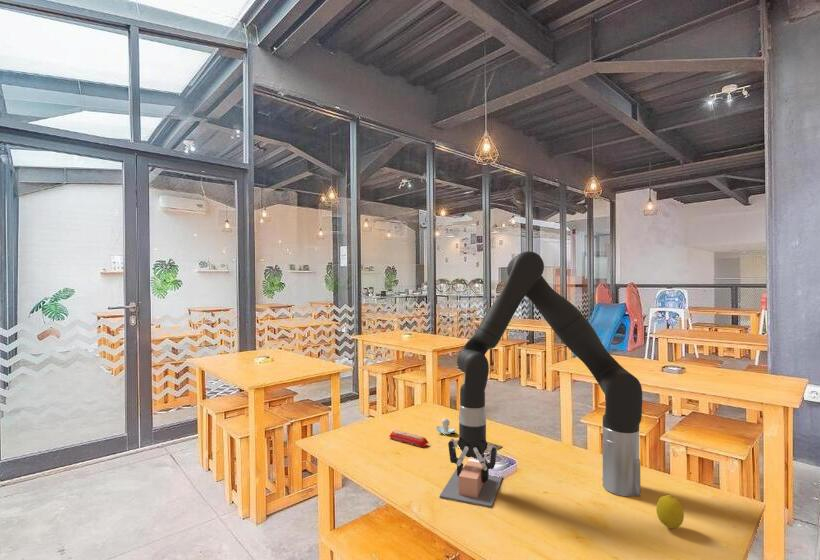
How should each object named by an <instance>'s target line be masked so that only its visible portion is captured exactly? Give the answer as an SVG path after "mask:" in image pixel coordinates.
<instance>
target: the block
mask: <svg viewBox="0 0 820 560" xmlns="http://www.w3.org/2000/svg"><path fill="white" fill-rule="evenodd" d="M482 470H483V468H482V465H481V463H480V462H479V460H478V459H476V458H468V460H467V461H466V463H465V465H463V470H462V472H461V473H460V475H459V495H464V496H469V497H475V498H477V497H478V495H479V492H480V490H481V488H482V486H483V483H482Z"/></svg>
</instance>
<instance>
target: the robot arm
mask: <svg viewBox="0 0 820 560" xmlns="http://www.w3.org/2000/svg"><path fill="white" fill-rule="evenodd" d="M506 269H507V270H506V271H507V276H508V277H507V280H506V283H505V284H504V287H503V288H502V290H501V291H500V293H499V295H498V296H497V298H496V299H495V301H494V302H493V303H492V304H491V306H490V307H489V308H488V310H487V312H486V313H485V315H484V317H483V318H482V320H481V322H480V323H479V325H478V327H477V329H476V331H475V332H474V334H473V335H472V336H471V337H470V338H469V339H468V341H467V342H466V343H465V344H463V347H462V348H461V349H460V351H459V353H458V355H457V359H456V364H457V368H458V369H459V370H460V371H461V372H462V373H464V383H463V384H462V385H461V386H460V388H459V389H460V390H459V414H458V425H459V426H458V432H459V434H458V438H459V439H457V440H455V439H453V438H451V439H450V440H449V441H448V444H447V445H448V452H449V460H450V461H449V462H450V463H451V464H455V465H456V469H457V476H458V477H459V475H460V473H461V472H462V470H463V468H464V463H463V461H464V459H465V458H472V459H475V460H479V462H480V463H481V465H482V468H483V470H482V483H485V482H486V481H487V480H488V478H489V471H490V470H493V469H495V466H496V460H497V455H498V454H497V453H498V450H497V445H498V444H497V445H494V446H491V445H488V444H487V442H488V441H487V411H486V410H487V409H486V388H487V383H488V377H489V374H490V366H489V365H490V364H489V361H488V358H487V356H486V354H487V352H488V351H489V350H491V349H494V348H496V347H497V346H498V343H499V342H500V341H501V339H502V337H503V335H504V334H505V331H506V330H507V329H508V327H509V324H510V323H511V320H512V318H513V316H514V315H515V313H516V312H517V309H518V308H519V306H520V304H521V303H522V302H523V300H524V299H525V297H526V298H527V299H529V300H530V302H531V303H532V304H533V305H534V306H535V308H536V309H537V311H538V312H539V314H540V315H541V316H542V317H543V319H544V321H545V322H546V323H547V324H548V325H549V326H550V328H551V329H552V331H553V332H554V333H555V334H556V335H557V338H559V339H560V340H561V341H562V343H563V344H564V345H565V346H566V348H568V349H569V351H571V352H572V353H573V354H574V355H575V357H577V358H578V359H579V360H580V361H581V362H582V363H583V364H584V365H585V367H586V368H587V369H588V370H589V372H590V373H591V375H592V376H593V377H594V380H596V382H597V384H598V385H599V387H600V389H601V390H602V392H603V393H604V395H605V409H604V410H605V411H604V414H603V415H602V478H601V479H602V487H603V488H604V490H605V491H607V492H609V493H612V494H614V495H617V496H622V497H634V496H637V497H641V459H640V424H641V422H642V420H643V419H642V418H643V417H642V415H643V388H642V387H643V386H642V385H641V382H640V380H639V379H638V378H637V377H636V376H635V375H633V374H632V373H631V372H629V371H628V370H627V369H625V368H624V367H623V366H622V365H621V364H620V363H619V362H618V361H617V360H616V359H615V358H614V357H613V356H612V355H611V354H610V352H608V351H607V349H606V348H605V346H604V344H603V343H602V341H601V338H600V337H599V335H598V334H597V333H596V331H595V329H594V328H593V326H592V325H591V323H590V322H589V321H588V320H587V318H586V317H585V316H584V315H583V313H582V312H581V311H580V310H579V309H578V308H577V307H576V306H575V305H574V304H573V303H572V302H570V301H569V300H567V299H566V298H565V297H564V296H562V295H561V294H559V293H558V292H557V291H555V290H554V289H553V288H552V287H551V285H550V284H549V283H548V282H547V280H546V279H545V278H544V276H543V273H544V270H545V265H544V261H543V259H542V257H541V255H540V254H538V253H536V252H534V251H523V252H520V253H518V254H517V255H515V256H514V257H513V258H512V259H511V260H510V261H509V262H508V264H507V268H506ZM486 441H487V442H486ZM458 446H459V447H460V449H459V450H461V453H460V456H459V457H457V452H456V448H457V447H458ZM486 449H488V450H489V453H490V460H489V462H488V459H487V456H485V454H484V452H485V450H486Z"/></svg>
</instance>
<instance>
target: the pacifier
mask: <svg viewBox="0 0 820 560" xmlns="http://www.w3.org/2000/svg"><path fill="white" fill-rule="evenodd" d="M441 423H442V426H441V425H437V426H436V430H437V432H438V433H440V434H441V433H444V434H451V433H455V432H456V429H455V428H449V425H450V424H451V422H450V420H449V419H448V418H446V417H444V418H442V419H441ZM455 434H456V433H455ZM451 435H452V434H451Z"/></svg>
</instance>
